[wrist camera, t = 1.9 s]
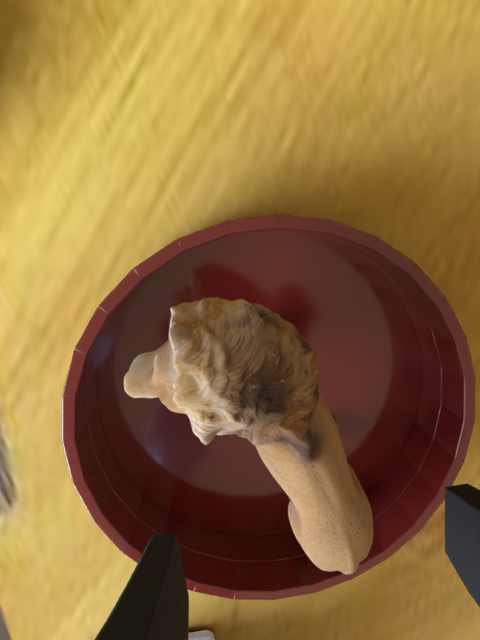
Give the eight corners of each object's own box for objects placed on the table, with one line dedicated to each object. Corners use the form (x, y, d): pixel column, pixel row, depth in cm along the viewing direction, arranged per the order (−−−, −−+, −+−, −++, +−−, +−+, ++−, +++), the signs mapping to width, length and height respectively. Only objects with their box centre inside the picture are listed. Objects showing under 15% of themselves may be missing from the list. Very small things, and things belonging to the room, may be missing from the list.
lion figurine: (139, 315, 18) (70, 396, 9) (233, 246, 17) (259, 259, 8) (312, 528, 21) (387, 741, 12) (394, 473, 21) (532, 652, 12)
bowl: (431, 512, 22) (472, 565, 18) (125, 564, 21) (109, 629, 17) (427, 197, 18) (479, 188, 14) (51, 244, 17) (11, 247, 13)
